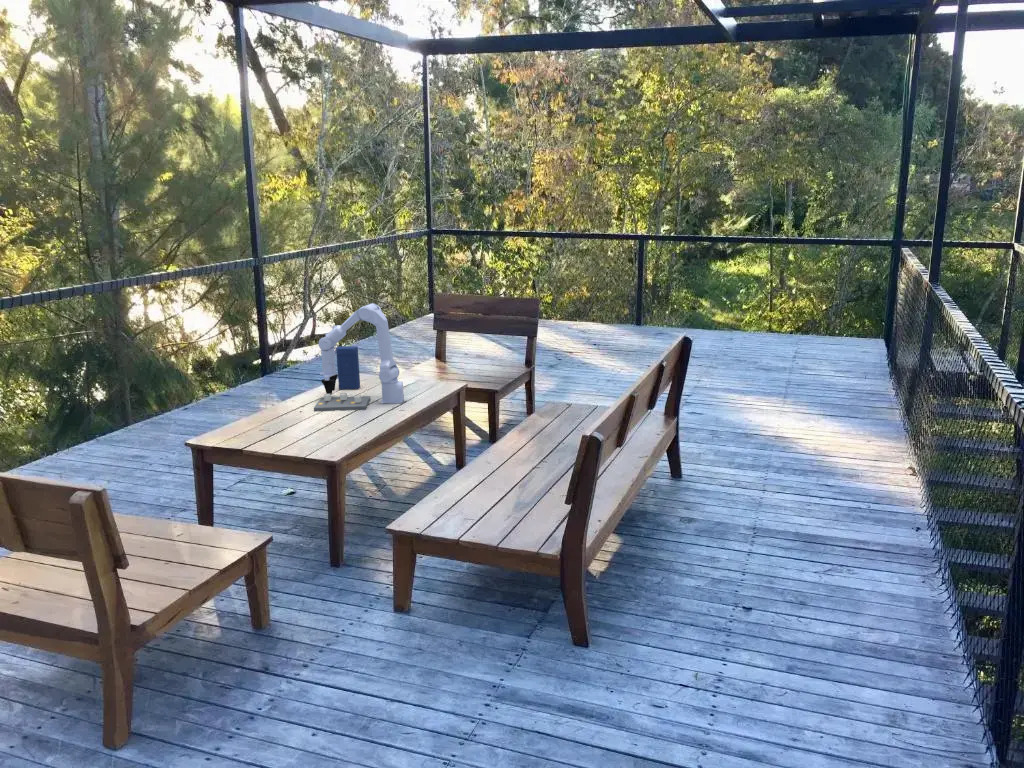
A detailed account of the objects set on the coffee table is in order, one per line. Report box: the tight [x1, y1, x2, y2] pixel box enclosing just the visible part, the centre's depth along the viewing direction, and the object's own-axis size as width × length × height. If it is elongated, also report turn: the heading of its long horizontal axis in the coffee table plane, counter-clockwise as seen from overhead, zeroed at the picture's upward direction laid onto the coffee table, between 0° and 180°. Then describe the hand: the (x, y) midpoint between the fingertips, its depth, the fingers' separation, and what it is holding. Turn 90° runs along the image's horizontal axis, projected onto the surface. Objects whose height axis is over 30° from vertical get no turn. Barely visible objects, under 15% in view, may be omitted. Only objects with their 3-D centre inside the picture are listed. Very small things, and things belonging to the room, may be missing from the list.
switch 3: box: [353, 394, 362, 403], centre depth 386 cm, size 2×3×3 cm
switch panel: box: [313, 395, 372, 412], centre depth 388 cm, size 22×18×2 cm
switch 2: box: [339, 392, 348, 400], centre depth 390 cm, size 2×3×3 cm
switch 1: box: [323, 393, 332, 401], centre depth 390 cm, size 2×3×3 cm
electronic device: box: [335, 345, 361, 390], centre depth 417 cm, size 10×5×20 cm, turn 84°
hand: (330, 392), depth 399 cm, fingers open, 7 cm apart
